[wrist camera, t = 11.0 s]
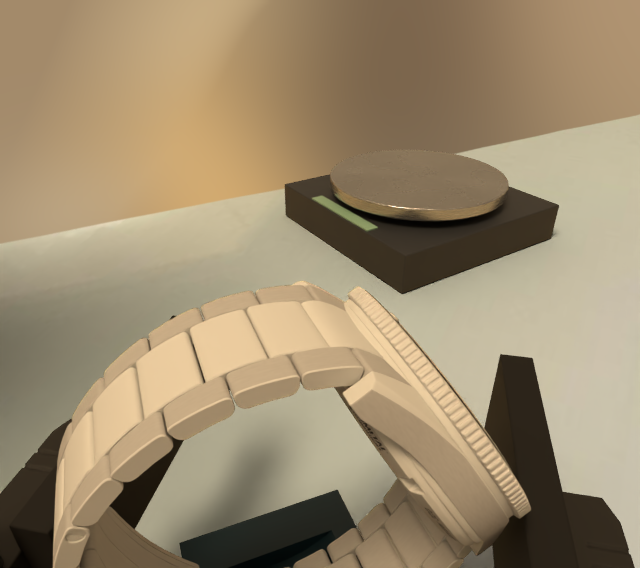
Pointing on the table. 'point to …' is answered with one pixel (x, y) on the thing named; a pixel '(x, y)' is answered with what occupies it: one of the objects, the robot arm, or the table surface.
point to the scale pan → (419, 185)
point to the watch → (267, 385)
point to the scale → (418, 234)
